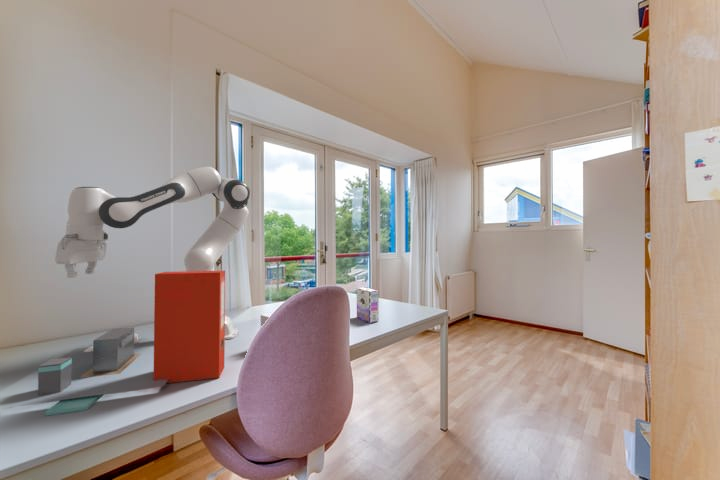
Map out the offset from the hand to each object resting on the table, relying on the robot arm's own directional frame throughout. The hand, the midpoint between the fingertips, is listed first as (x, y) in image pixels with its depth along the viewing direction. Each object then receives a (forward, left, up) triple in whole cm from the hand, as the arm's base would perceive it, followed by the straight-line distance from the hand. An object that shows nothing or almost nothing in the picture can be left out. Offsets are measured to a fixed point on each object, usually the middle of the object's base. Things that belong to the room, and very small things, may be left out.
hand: (81, 275), depth 96 cm
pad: (-13, +29, -30) cm, 43 cm away
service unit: (-12, +8, -28) cm, 32 cm away
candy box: (-111, -22, -30) cm, 117 cm away
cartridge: (-5, +22, -30) cm, 37 cm away
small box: (-62, +4, -30) cm, 69 cm away
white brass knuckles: (-4, -14, -31) cm, 34 cm away
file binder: (-37, +21, -30) cm, 52 cm away
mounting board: (-12, +8, -30) cm, 33 cm away
